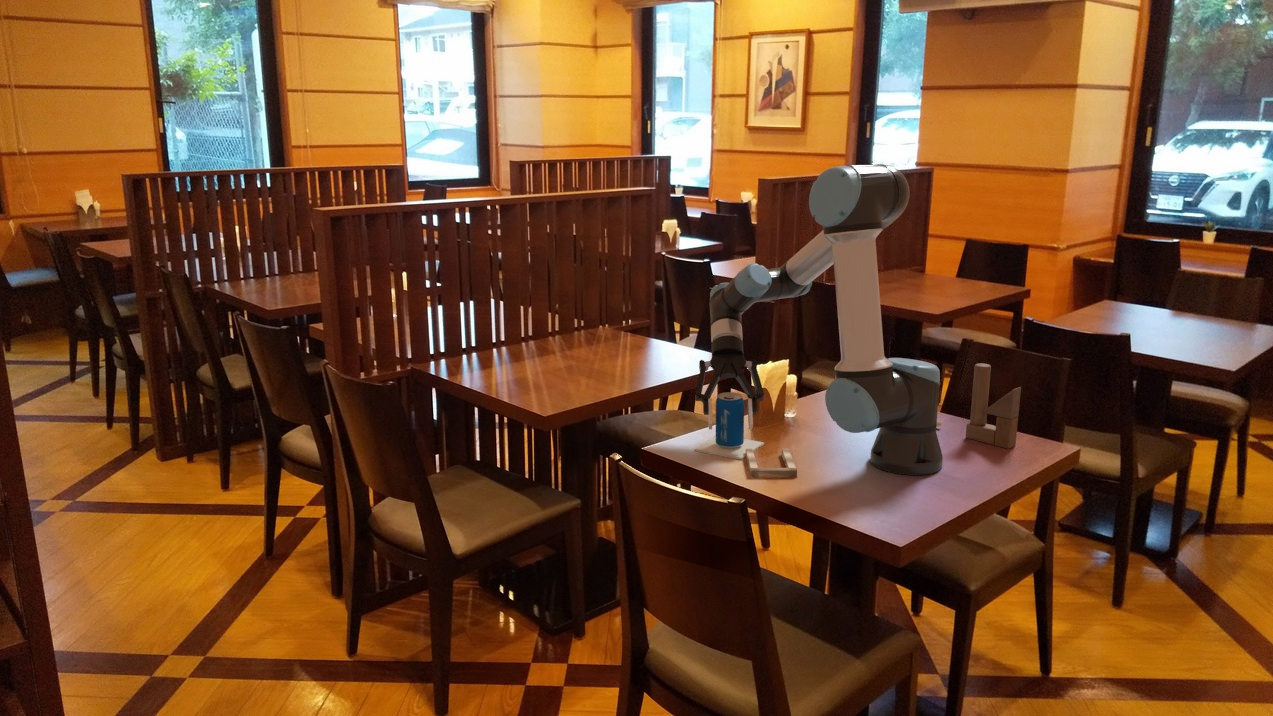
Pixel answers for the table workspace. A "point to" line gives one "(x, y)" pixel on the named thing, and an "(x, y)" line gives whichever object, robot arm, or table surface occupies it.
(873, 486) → the table surface
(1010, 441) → the wooden block
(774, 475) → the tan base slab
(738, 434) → the beverage can
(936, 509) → the table surface
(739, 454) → the mat
